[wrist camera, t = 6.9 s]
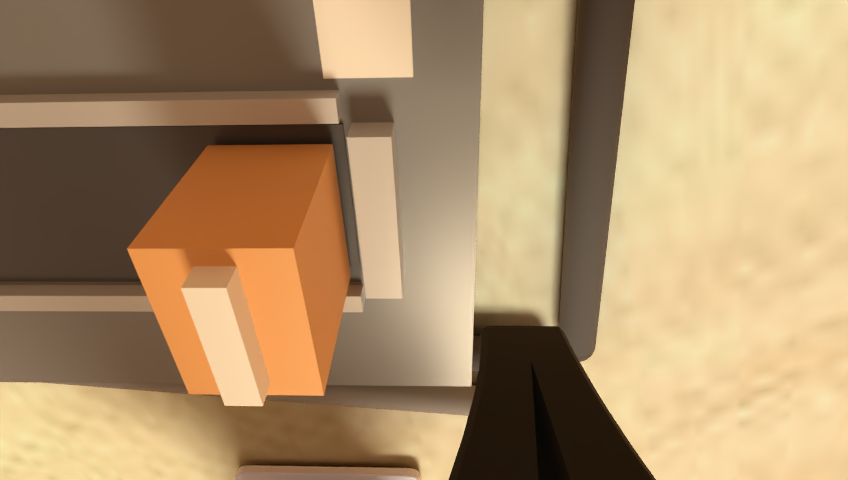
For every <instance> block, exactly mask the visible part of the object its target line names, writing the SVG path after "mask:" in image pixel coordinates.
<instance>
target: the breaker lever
mask: <svg viewBox="0 0 848 480" xmlns="http://www.w3.org/2000/svg"><path fill="white" fill-rule="evenodd" d="M127 250H128V252H129V255H130V257H131V259H132V262H133V264H134V266H135V269H136V271H137V273H138V276H139V278H140V280H141V283H142V285H143V287H144V290H145V292H146V295H147V297H148V299H149V302H150V304H151V306H152V309H153V311H154V313H155V316H156V318H157V320H158V323H159V325H160V327H161V330H162V332H163V334H164V337H165V339H166V341H167V344H168V346H169V348H170V351H171V353H172V356H173V358H174V360H175V363H176V365H177V367H178V370H179V372H180V374H181V377H182V379H183V381H184V384H185V386H186V388H187V391H188V393H189V394H213V395H221V397H222V399H223V402H224V405H225V406H263V405H264V402H265V399H266V396H267V395H306V396H324V393H325V389H326V384H327V380H328V375H329V371H330V367H331V362H332V358H333V353H334V349H335V344H336V340H337V335H338V331H339V326H340V322H341V317H342V313H343V308H344V304H345V299H346V295H347V291H348V286H349V282H350V277H351V273H350V266H349V258H348V251H347V244H346V237H345V229H344V222H343V215H342V207H341V200H340V193H339V186H338V178H337V171H336V164H335V157H334V149H333V144H292V145H208V146H207V147H206V148H205V149H204V151H203V152H202V153H201V155H200V156H199V157H198V158H197V160H196V161H195V162H194V164H193V165H192V166H191V167H190V169H189V170H188V171H187V172H186V174H185V175H184V176H183V178H182V179H181V180H180V181H179V183H178V184H177V185H176V187H175V188H174V189H173V190H172V192H171V193H170V194H169V196H168V197H167V198H166V199H165V201H164V202H163V203H162V204H161V206H160V207H159V208H158V210H157V211H156V212H155V213H154V215H153V216H152V217H151V219H150V220H149V221H148V222H147V224H146V225H145V226H144V228H143V229H142V230H141V231H140V233H139V234H138V235H137V237H136V238H135V239H134V240H133V242H132V243H131V244H130V245H129V247H128V248H127Z"/></svg>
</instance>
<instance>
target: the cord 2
mask: <svg viewBox="0 0 848 480" xmlns="http://www.w3.org/2000/svg"><path fill="white" fill-rule="evenodd" d="M634 3H635V0H578V5H577V22H576V39H575V57H574V74H573V91H572V108H571V126H570V143H569V160H568V177H567V195H566V212H565V229H564V246H563V264H562V281H561V298H560V315H559V327H560V328H561V329H562V330H563V331H564V333H565V335H566V337H567V339H568V341H569V343H570V345H571V347H572V349H573V351H574V353H575V354H576V356H577V358H578V360H579V362H581V361H584V360H587V359H588V358H589V357H590V356H591V355H592V354H593V352H594V350H595V344H596V336H597V327H598V318H599V309H600V301H601V292H602V283H603V274H604V266H605V257H606V248H607V239H608V231H609V222H610V213H611V204H612V195H613V187H614V178H615V169H616V160H617V152H618V143H619V134H620V125H621V117H622V108H623V99H624V90H625V82H626V73H627V64H628V55H629V47H630V38H631V29H632V20H633V12H634Z"/></svg>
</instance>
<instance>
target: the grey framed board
mask: <svg viewBox="0 0 848 480" xmlns="http://www.w3.org/2000/svg"><path fill="white" fill-rule="evenodd" d="M483 4H484V0H0V382H65V383H167V384H184V381H183V379H182V377H181V374H180V372H179V370H178V367H177V365H176V363H175V360H174V358H173V356H172V353H171V351H170V348H169V346H168V344H167V341H166V339H165V337H164V334H163V332H162V330H161V327H160V325H159V323H158V320H157V318H156V316H155V313H154V311H153V309H152V306H151V304H150V302H149V299H148V297H147V295H146V292H145V290H144V287H143V285H142V283H141V280H140V278H139V276H138V273H137V271H136V269H135V266H134V264H133V262H132V259H131V257H130V255H129V252H128V250H127V248H128V247H129V245H130V244H131V243H132V242H133V240H134V239H135V238H136V237H137V235H138V234H139V233H140V231H141V230H142V229H143V228H144V226H145V225H146V224H147V222H148V221H149V220H150V219H151V217H152V216H153V215H154V213H155V212H156V211H157V210H158V208H159V207H160V206H161V204H162V203H163V202H164V201H165V199H166V198H167V197H168V196H169V194H170V193H171V192H172V190H173V189H174V188H175V187H176V185H177V184H178V183H179V181H180V180H181V179H182V178H183V176H184V175H185V174H186V172H187V171H188V170H189V169H190V167H191V166H192V165H193V164H194V162H195V161H196V160H197V158H198V157H199V156H200V155H201V153H202V152H203V151H204V149H205V148H206V147H207V146H208V145H292V144H333V149H334V157H335V164H336V171H337V178H338V186H339V193H340V200H341V207H342V215H343V222H344V229H345V237H346V244H347V251H348V258H349V266H350V273H351V277H350V282H349V286H348V291H347V295H346V299H345V304H344V308H343V313H342V317H341V322H340V326H339V331H338V335H337V340H336V344H335V349H334V353H333V358H332V362H331V367H330V371H329V375H328V380H327V384H326V385H371V386H472V355H473V323H474V291H475V259H476V227H477V195H478V163H479V132H480V100H481V68H482V36H483Z"/></svg>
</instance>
